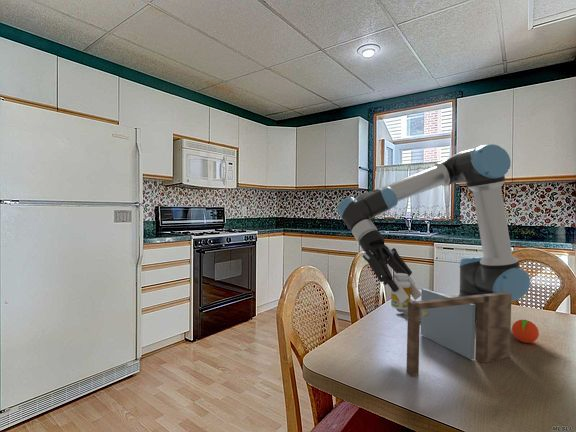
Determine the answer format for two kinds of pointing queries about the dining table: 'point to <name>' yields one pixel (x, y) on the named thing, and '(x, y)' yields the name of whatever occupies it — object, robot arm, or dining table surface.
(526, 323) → the clementine
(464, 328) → the door
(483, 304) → the door frame
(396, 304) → the supplement bottle
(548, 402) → the dining table surface
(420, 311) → the mineral specimen
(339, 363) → the dining table surface
